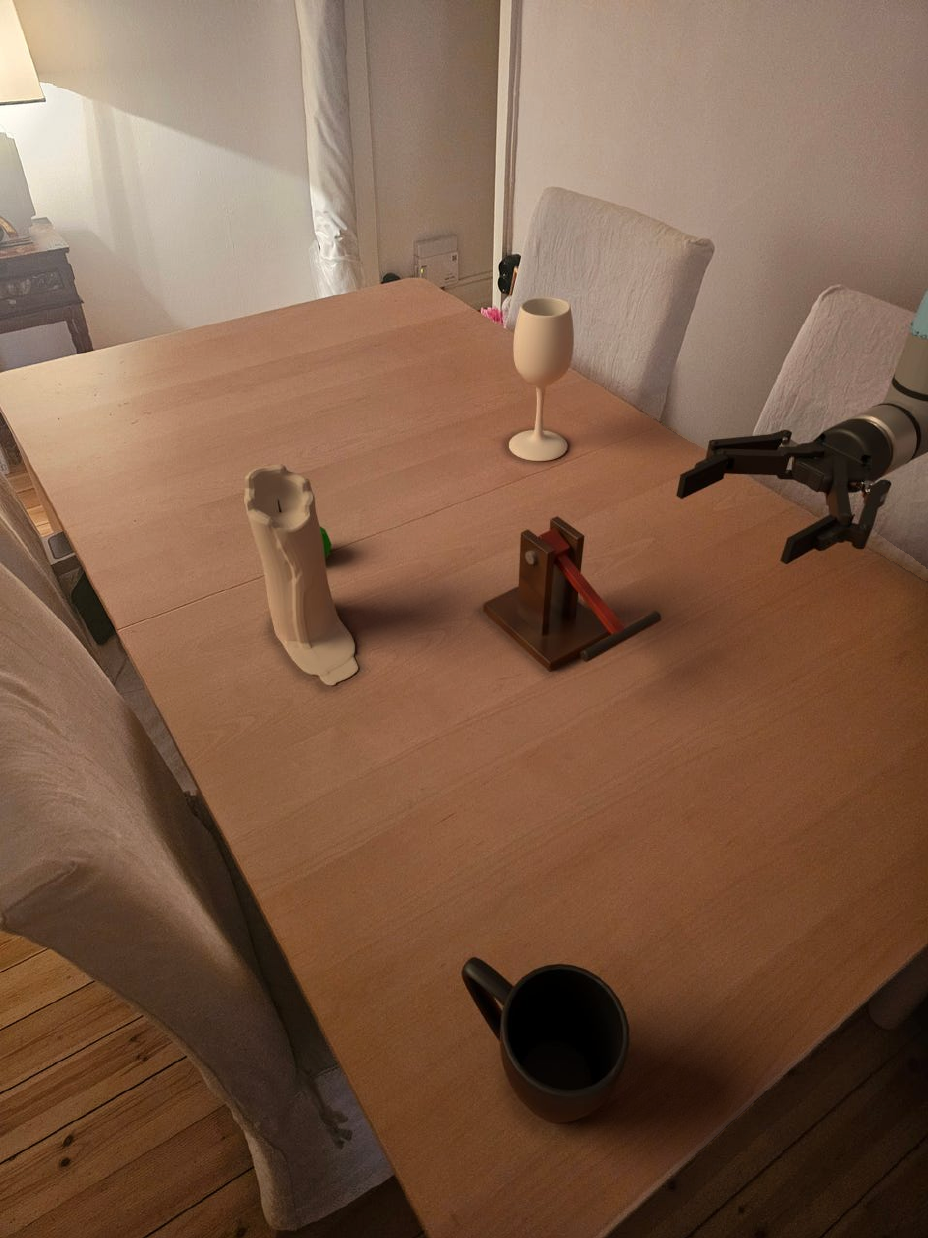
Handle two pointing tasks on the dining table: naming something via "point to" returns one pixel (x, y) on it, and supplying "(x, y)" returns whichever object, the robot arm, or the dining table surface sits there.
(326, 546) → the polyhedron
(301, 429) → the dining table surface
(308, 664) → the candle
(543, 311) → the wineglass
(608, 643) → the red lever
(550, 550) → the rod stand
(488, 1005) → the mug
